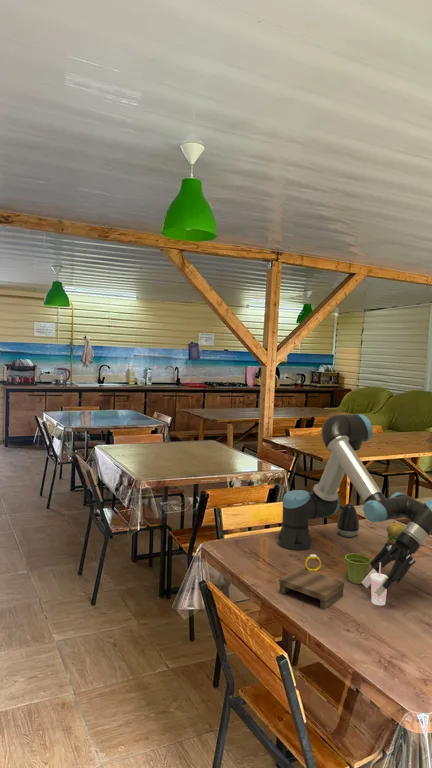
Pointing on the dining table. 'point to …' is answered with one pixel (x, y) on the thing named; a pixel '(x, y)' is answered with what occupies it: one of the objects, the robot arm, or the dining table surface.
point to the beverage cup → (375, 581)
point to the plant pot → (357, 567)
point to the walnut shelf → (313, 586)
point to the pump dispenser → (348, 521)
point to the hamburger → (394, 531)
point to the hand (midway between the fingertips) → (370, 589)
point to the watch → (313, 558)
